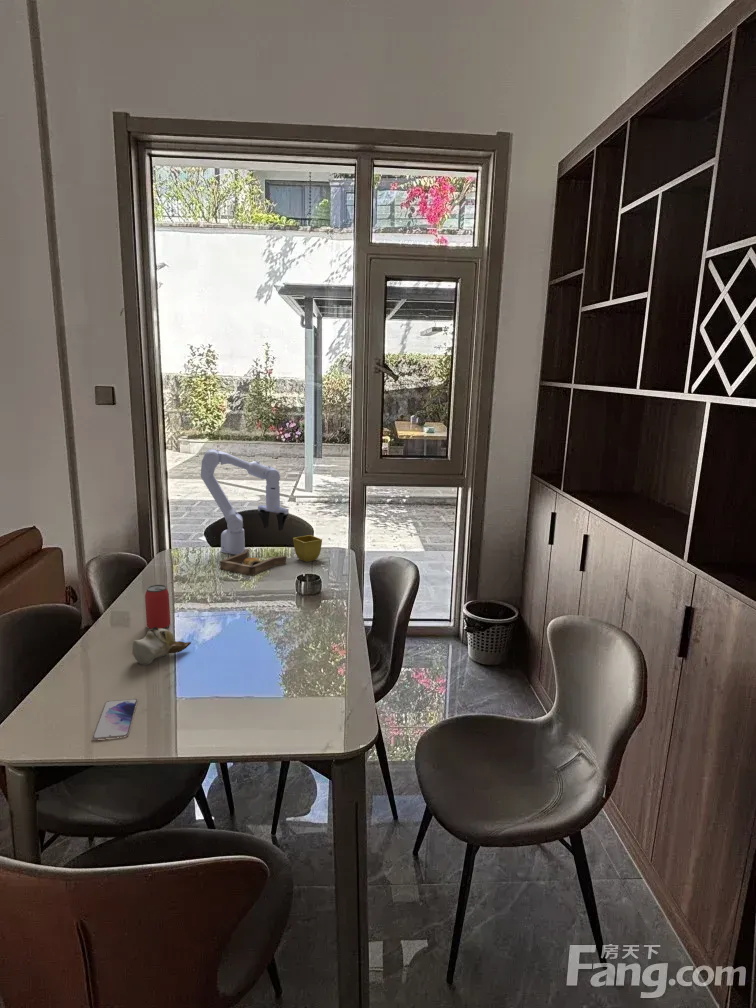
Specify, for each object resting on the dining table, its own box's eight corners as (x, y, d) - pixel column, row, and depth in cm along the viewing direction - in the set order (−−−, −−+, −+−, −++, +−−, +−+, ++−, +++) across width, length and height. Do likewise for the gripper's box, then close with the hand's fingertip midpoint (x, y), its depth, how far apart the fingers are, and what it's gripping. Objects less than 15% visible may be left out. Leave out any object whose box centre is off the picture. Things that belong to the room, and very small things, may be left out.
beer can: (162, 631, 175) (160, 592, 173) (142, 629, 177) (139, 590, 174) (174, 622, 182) (172, 584, 179) (154, 620, 183) (152, 582, 180)
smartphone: (138, 698, 139) (128, 735, 125) (138, 701, 139) (128, 739, 125) (104, 700, 137) (90, 739, 123) (105, 704, 137) (91, 743, 123)
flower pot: (310, 555, 252) (310, 534, 250) (322, 560, 245) (322, 539, 243) (292, 559, 246) (292, 537, 244) (304, 564, 240) (304, 542, 238)
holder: (215, 567, 234) (215, 560, 233) (246, 555, 250) (246, 548, 249) (257, 576, 224) (257, 568, 224) (287, 563, 240) (286, 556, 240)
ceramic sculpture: (119, 630, 155) (164, 614, 168) (119, 662, 156) (164, 644, 169) (148, 640, 150) (193, 622, 163) (148, 673, 151) (192, 653, 164)
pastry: (239, 564, 238) (239, 555, 238) (255, 562, 242) (255, 553, 241) (248, 571, 231) (248, 561, 230) (265, 568, 235) (264, 559, 234)
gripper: (292, 497, 254) (293, 528, 256) (264, 493, 260) (265, 524, 263) (282, 500, 247) (283, 532, 250) (254, 496, 254) (255, 527, 257)
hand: (273, 528), depth 256 cm, fingers open, 7 cm apart
